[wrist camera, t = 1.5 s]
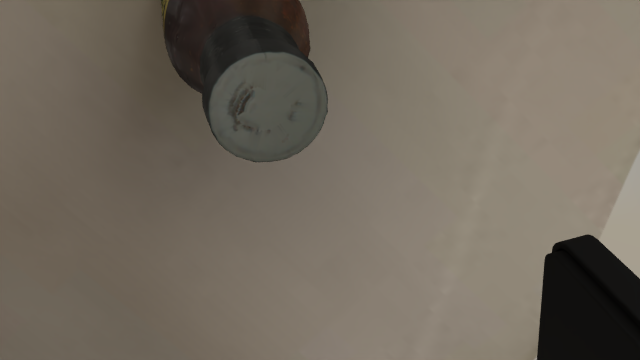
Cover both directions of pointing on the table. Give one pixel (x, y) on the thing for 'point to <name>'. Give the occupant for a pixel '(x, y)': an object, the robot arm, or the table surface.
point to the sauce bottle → (249, 72)
